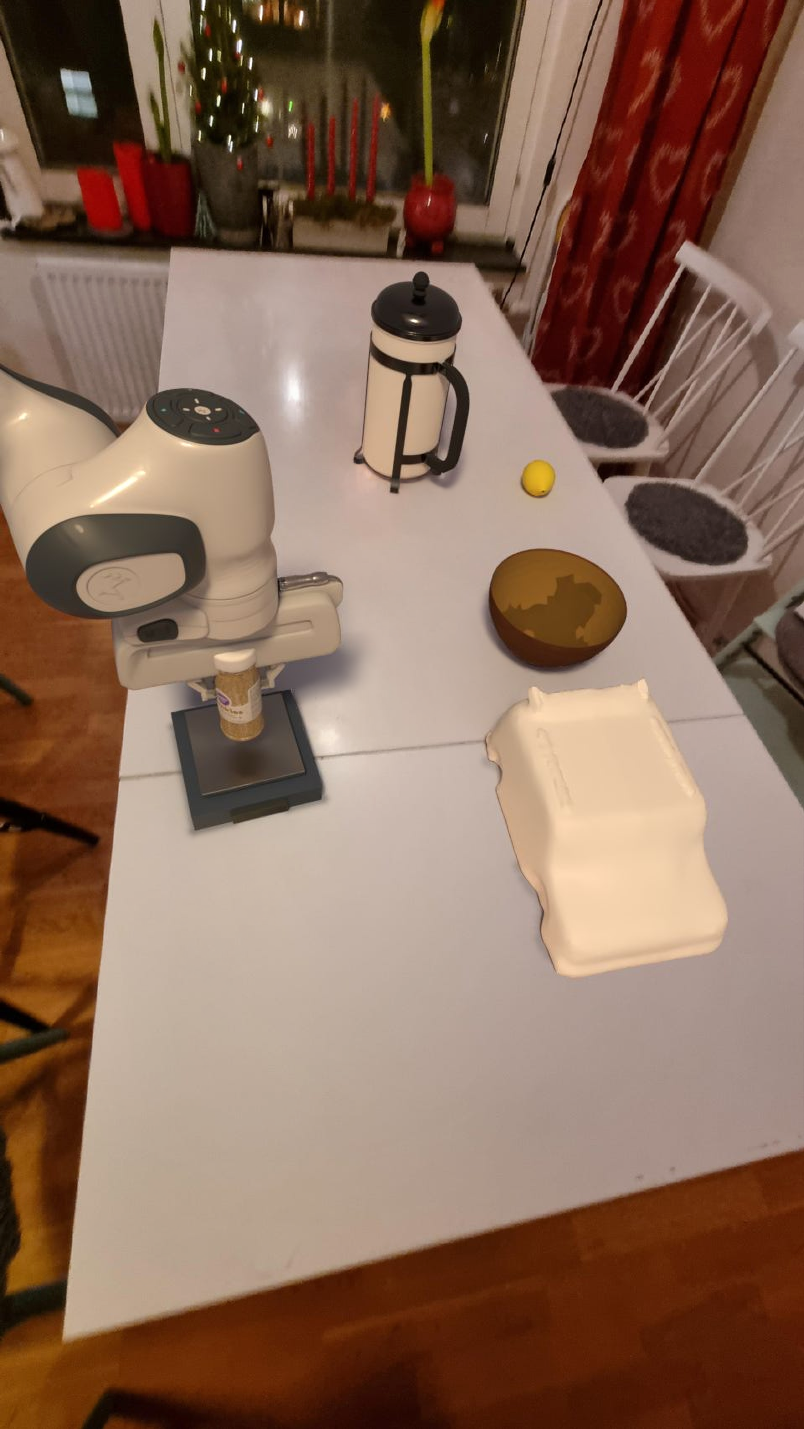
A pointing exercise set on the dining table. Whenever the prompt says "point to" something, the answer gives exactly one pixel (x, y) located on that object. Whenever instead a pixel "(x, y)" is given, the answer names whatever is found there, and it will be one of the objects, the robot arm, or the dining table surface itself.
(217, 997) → the dining table surface
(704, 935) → the egg carton
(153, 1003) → the dining table surface
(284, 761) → the scale pan
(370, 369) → the coffee press
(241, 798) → the scale
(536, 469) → the lemon
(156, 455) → the robot arm
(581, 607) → the bowl
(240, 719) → the sprinkles bottle
